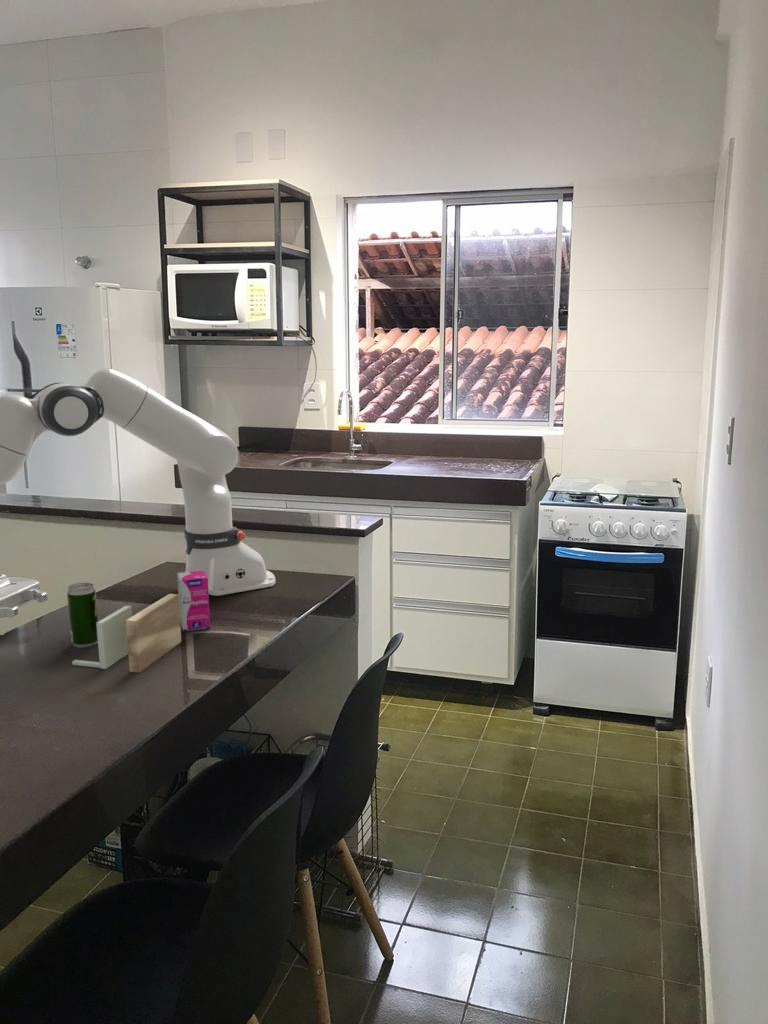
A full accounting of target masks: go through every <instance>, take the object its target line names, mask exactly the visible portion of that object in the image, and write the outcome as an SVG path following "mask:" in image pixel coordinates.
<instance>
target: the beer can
mask: <svg viewBox="0 0 768 1024" xmlns="http://www.w3.org/2000/svg"><path fill="white" fill-rule="evenodd" d="M96 591H97V590H96V588H95V584H94V583H92V582H78V583H73V584H70V585H69V586H67V592H66V595H67V596H66V597H67V606H68V618H69V620H68V621H69V628H70V629H69V630H70V638H71V639H70V640H71V644H72V645H73V647H75V648H80V649H81V648H82V649H83V648H90V647H93V646H96V645H97V644H98V637H97V625H96V623H97V622H98V621H99V615H98V602H97V592H96Z"/></svg>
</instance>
